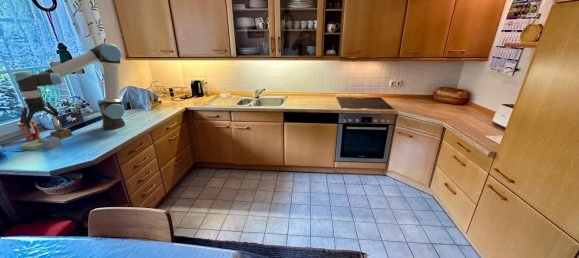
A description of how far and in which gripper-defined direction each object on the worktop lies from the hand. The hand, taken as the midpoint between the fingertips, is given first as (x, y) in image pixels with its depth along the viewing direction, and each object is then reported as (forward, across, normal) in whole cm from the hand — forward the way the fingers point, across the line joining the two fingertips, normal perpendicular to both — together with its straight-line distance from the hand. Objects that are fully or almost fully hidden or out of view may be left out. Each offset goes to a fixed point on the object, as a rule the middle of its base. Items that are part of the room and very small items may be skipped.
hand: (45, 129), depth 156 cm
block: (+13, 0, 0) cm, 13 cm away
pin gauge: (+13, -15, -13) cm, 24 cm away
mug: (+13, -8, -29) cm, 33 cm away
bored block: (+13, -15, -13) cm, 24 cm away
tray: (+13, +1, -12) cm, 18 cm away
